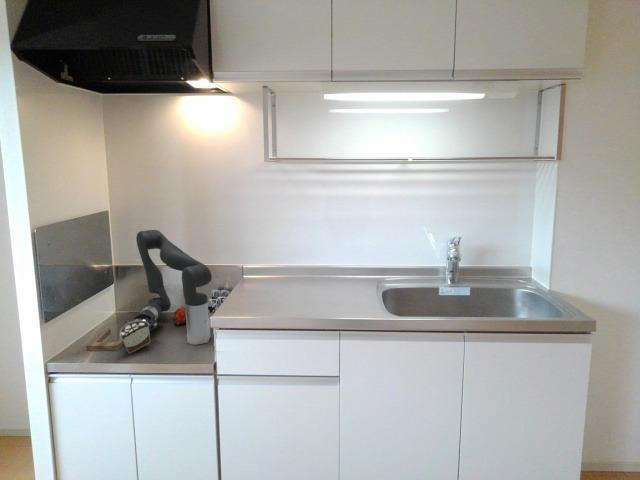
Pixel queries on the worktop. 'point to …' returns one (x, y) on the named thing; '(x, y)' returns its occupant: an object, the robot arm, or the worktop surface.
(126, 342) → the food container
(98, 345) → the notched board
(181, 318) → the dragon fruit
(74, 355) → the worktop surface
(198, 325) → the robot arm
